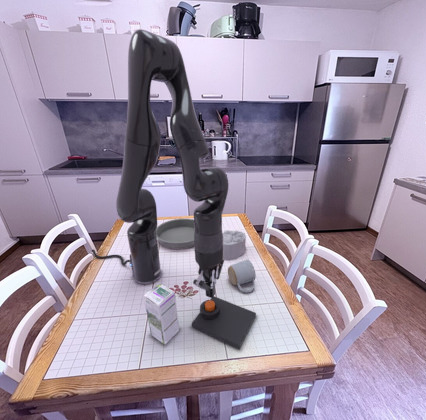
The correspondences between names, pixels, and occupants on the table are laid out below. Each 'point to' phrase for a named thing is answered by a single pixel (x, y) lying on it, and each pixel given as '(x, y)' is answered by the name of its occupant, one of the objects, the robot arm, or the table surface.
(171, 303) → the syrup box
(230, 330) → the black button base
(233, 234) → the lumpy-topped squat cylinder
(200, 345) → the table surface
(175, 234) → the cake pan
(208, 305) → the button
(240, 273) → the ceramic mug
